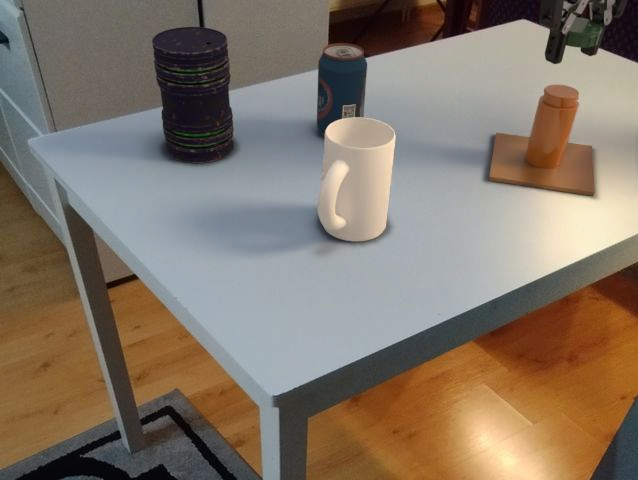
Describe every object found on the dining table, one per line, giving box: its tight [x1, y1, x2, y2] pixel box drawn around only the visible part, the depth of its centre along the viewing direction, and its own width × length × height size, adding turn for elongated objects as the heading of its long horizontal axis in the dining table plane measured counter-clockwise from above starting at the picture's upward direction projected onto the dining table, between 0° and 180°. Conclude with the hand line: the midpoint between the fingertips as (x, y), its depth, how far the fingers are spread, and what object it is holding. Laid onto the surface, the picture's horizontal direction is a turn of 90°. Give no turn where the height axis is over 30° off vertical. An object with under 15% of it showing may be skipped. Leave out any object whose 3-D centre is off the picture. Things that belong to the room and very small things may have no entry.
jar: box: [525, 84, 580, 168], centre depth 94 cm, size 5×5×10 cm
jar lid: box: [561, 16, 602, 49], centre depth 85 cm, size 6×6×2 cm
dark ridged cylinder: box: [151, 26, 235, 164], centre depth 93 cm, size 10×10×15 cm
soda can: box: [316, 42, 368, 137], centre depth 99 cm, size 7×7×12 cm
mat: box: [487, 132, 596, 197], centre depth 97 cm, size 14×14×1 cm
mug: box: [317, 117, 396, 242], centre depth 79 cm, size 8×12×12 cm
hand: (570, 57), depth 87 cm, fingers closed on jar lid, 5 cm apart
